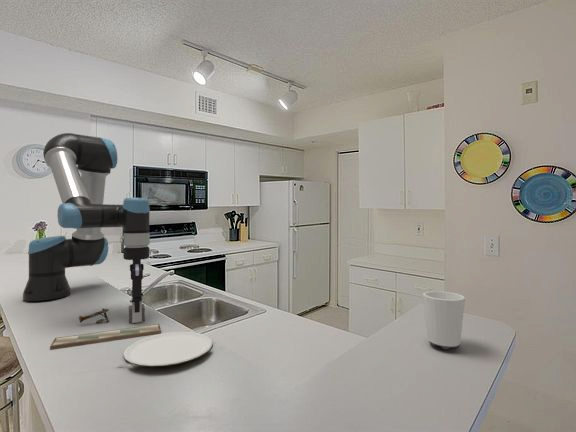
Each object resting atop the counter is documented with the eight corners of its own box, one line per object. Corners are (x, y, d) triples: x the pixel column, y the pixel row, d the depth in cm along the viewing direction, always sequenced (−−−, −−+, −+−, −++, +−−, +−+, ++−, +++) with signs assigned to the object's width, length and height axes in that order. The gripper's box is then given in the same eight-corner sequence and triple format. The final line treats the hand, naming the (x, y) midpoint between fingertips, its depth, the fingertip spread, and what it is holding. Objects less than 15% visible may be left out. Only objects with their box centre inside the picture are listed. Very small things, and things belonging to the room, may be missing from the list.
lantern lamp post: (78, 317, 99) (107, 307, 102) (79, 315, 101) (108, 306, 104) (82, 331, 100) (111, 321, 103) (83, 329, 101) (112, 320, 104)
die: (128, 319, 106) (128, 305, 106) (144, 317, 108) (144, 303, 108) (128, 324, 102) (128, 309, 102) (144, 321, 104) (144, 307, 104)
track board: (55, 340, 88) (55, 337, 88) (159, 326, 99) (159, 323, 99) (50, 349, 82) (50, 346, 82) (161, 333, 94) (161, 330, 94)
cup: (461, 339, 88) (461, 292, 88) (468, 354, 79) (468, 301, 79) (421, 335, 92) (421, 289, 92) (424, 349, 82) (424, 298, 82)
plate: (124, 378, 68) (124, 372, 68) (122, 343, 87) (122, 339, 87) (222, 358, 78) (222, 353, 78) (202, 331, 97) (202, 326, 97)
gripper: (123, 244, 111) (123, 313, 111) (123, 249, 95) (123, 330, 95) (147, 243, 114) (148, 311, 114) (151, 248, 98) (151, 326, 98)
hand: (136, 319), depth 105 cm, fingers closed on die, 4 cm apart
